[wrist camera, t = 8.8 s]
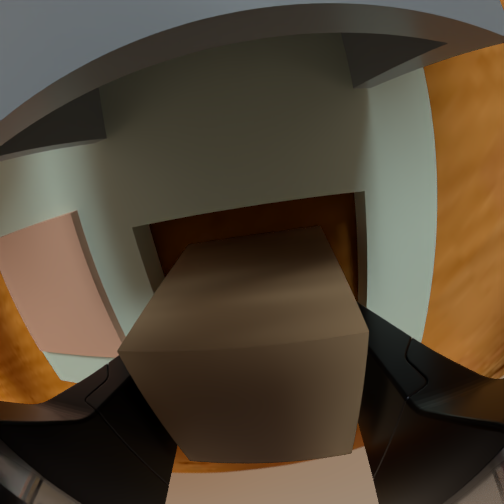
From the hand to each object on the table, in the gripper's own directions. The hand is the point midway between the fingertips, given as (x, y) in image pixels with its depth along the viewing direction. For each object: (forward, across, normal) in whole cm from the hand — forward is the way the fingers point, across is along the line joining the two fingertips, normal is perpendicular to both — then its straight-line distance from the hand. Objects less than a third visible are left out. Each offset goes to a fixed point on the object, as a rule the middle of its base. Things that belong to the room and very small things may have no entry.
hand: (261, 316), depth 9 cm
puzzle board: (+1, +3, -4) cm, 5 cm away
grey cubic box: (0, 0, -10) cm, 10 cm away
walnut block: (+1, 0, 0) cm, 1 cm away
